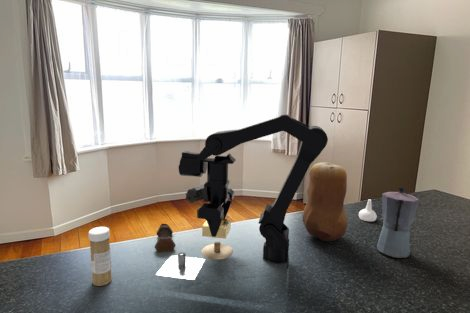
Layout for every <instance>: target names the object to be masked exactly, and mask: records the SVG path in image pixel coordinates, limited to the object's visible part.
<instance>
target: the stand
mask: <svg viewBox="0 0 470 313" xmlns="http://www.w3.org/2000/svg"><path fill="white" fill-rule="evenodd" d="M233 253H234V250H233V248H232V247H231V246H229V245H227V244H224V243H223V244H222V243H221V242H220V241H215V242H214V243H212V244H208V245H206V246H204V247H203V248H202V249H201V254H202V256H203V257H205V258H207V259H211V260H224V259H227V258H229V257H231V256H232V255H233Z"/></svg>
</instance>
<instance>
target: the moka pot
mask: <svg viewBox="0 0 470 313" xmlns="http://www.w3.org/2000/svg"><path fill="white" fill-rule="evenodd" d="M405 189H406V188H405V187H403V186H399V187H398V191H387V192H383V193H382V194H381V199H382V200H381V202H382V205H381V206H382V208H381V210H382V212H381V213H382V219H383V221H382V222H383V225H382V229H381V231H380V235H379V237H378V238H379V239H378V241H377V245H376V250H377V251H378V252H380V253H382V254H384V255H385V256H388V257H392V258H397V259H403V258H404V259H405V258H408V257H410V253H411V252H410V246H411V245H410V242H411V241H410V240H411V239H410V230H411V225H412V224H413V222H414V219H415V217H416V216H415V215H416V213H417V210H418V206H419V204H420V199H419V198H417V197H416V196H414V195H411V194H408V193H406V192H404V191H405Z"/></svg>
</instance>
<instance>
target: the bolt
mask: <svg viewBox="0 0 470 313" xmlns="http://www.w3.org/2000/svg"><path fill="white" fill-rule="evenodd" d="M173 232H174V231H173V230H172V228H171V227H170V225H169V224H167V223H161V224H160V226H159V228H158V229H157V231H156V235H157V237H158V240H157V242H156V243H155V245H154V249H155V251H156V252H157V253H166V252H174V250H175V249H176V243H175V241H174V240H173V239H172V235H173V234H174V233H173Z"/></svg>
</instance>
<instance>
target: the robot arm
mask: <svg viewBox="0 0 470 313" xmlns="http://www.w3.org/2000/svg"><path fill="white" fill-rule="evenodd" d="M280 132H281V133H282V132H284V133H287V134H289V135H290V136H292V137H293V138H295V139H297V140H299V141H300V143H299V148H298V151H297V156H296V158H295V159H294V162H293V163H292V166H291V168H290V170H289V172H288V174H287V176H286V178H285V181H284V182H283V184H282V186H281V189H280V190H279V192H278V194H277V197H276V198H275V200H274V201H273V203H272V204H269V203H265V207H264V209H263V212H262V213H260V216H259V220H258V224H260V225H259V226H258V228H259V233H260V235H261V236H262V237H263V238H264V239H265V242H264V243H263V248H262V259H263V260H265V261H268V262H270V263H272V264H276V265H279V264H285V263H286V264H287V265H286V266H287V267H286V269H288V268H289V257H290V255H289V252H290V250H289V248H290V239H289V236H290V234H289V233H290V228H289V227H288V226H287V225H286V224H285V223H284V222H285V219H286V216H287V215H286V214H287V211H288V208H289V207H290V205H291V203H292V201H293V199H294V197H295V195H296V193H297V191H298V190H299V187H300V185H301V183H302V181H303V179H304V178H305V175H306V174H307V172H308V170H309V168H310V166H311V165H312V164H313V162H314V161H315V160H316V159H317V158H318V157H319V155H321V153H323V152H322V151H324V150H325V148H326V146H327V144H328V142H329V141H328V140H329V138H328V135H327V133H326V131H325V130H324V129H323V128H322V127H320V126H318V125H311V126H309V125H308V124H306V123H304V122H302V121H300V120H297V119H296V118H293V117H292V116H291V115H289V114H285V113H283V114H281V115H279V116H277V117H274V118H271V119H268V120H265V121H262V122H258V123H255V124H252V125H249V126H246V127H242V128H239V129H230V130H229V129H228V130H221V131H216V132H214V133H212V134H210V135H208V136H207V138H206V139H205V141H204V147H203V149H202V150H201V151H200V152H193V151H185V150H184V151H183V152H181V157H180V160H179V164H178V173H179V175H180V176H182V177H196V178H202V176H203V175H204V174H206V173H207V175H206V181H205V183H204V184H202V185H199V186H195V187H192V188H188V190H187V191H186V192H185V199H186V200H187V201H188V202H189V204H193V203H194V202H198V201H203V203H202V205H200V206H199V207H198V208H197V210H196V218H197V219H199V220H205V221H206V220H207V223H208V225H209V229H210V232H211V235H212V237H211V238H215V237H216V235H217V232H218V230H219V227H220V225H221V222H222V220H223V218H225V219H226V218H227V215H228V213H229V210H230V208H231V205H232V203H233V201H234V198H235V191H234V190H233V189H232V188H229V187H228V186H229V185H230V179H229V165H233V164H234V163H235V162H236V158H235V157H233V155H232V154H231V153H228V154H227V155H222V154H224V153H226V152H228V151H230V150H231V149H234V148H236V147H237V146H240V145H241V144H244V143H247V142H251V141H254V140H258V139H261V138H264V137H268V136H271V135H274V134H277V133H280ZM211 156H215V157H214V158H213V157H212V158H211ZM229 198H230V200H229Z"/></svg>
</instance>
